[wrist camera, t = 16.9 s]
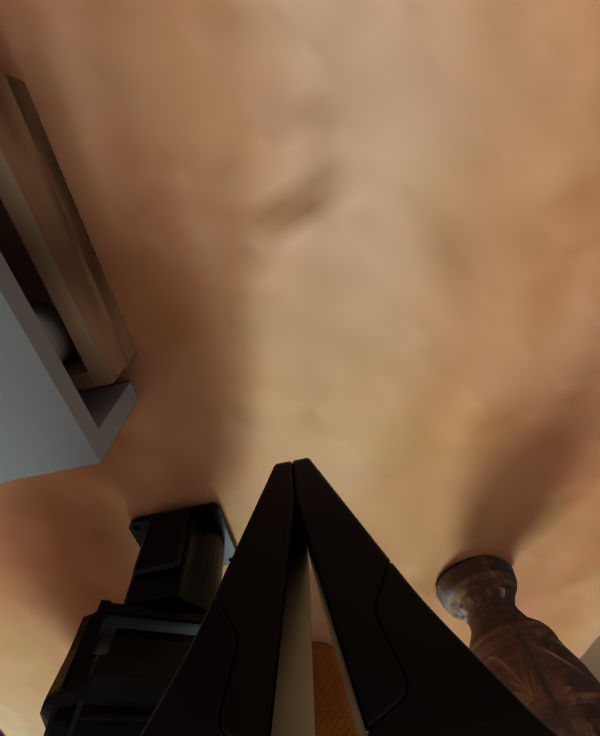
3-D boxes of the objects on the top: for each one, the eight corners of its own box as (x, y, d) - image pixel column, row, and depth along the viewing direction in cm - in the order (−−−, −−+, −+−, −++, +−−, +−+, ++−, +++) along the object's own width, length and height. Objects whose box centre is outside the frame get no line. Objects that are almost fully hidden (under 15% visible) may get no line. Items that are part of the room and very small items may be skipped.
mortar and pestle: (457, 526, 29) (760, 1040, 12) (546, 525, 30) (943, 988, 13) (419, 605, 34) (588, 1045, 17) (497, 602, 36) (730, 1008, 18)
